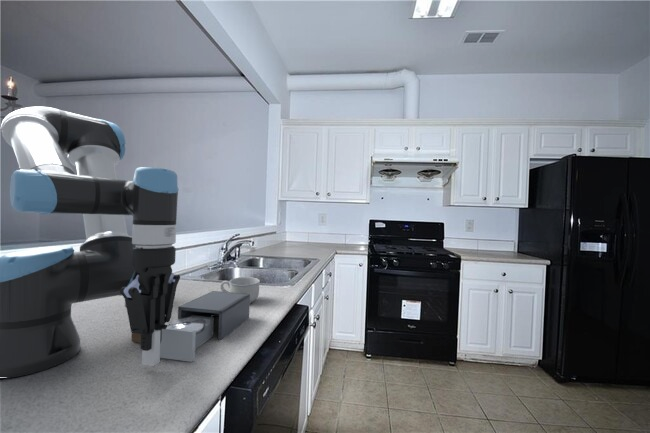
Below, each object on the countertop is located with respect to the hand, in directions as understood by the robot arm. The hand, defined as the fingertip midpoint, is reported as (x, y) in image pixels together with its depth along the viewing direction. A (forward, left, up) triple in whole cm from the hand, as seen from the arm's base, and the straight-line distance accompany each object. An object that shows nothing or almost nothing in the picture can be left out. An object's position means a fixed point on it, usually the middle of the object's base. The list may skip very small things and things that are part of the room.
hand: (150, 363), depth 56 cm
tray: (+8, +8, -1) cm, 11 cm away
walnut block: (0, +18, -2) cm, 18 cm away
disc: (+8, +8, +2) cm, 11 cm away
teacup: (+30, +36, -2) cm, 47 cm away
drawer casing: (+17, +17, -2) cm, 24 cm away
